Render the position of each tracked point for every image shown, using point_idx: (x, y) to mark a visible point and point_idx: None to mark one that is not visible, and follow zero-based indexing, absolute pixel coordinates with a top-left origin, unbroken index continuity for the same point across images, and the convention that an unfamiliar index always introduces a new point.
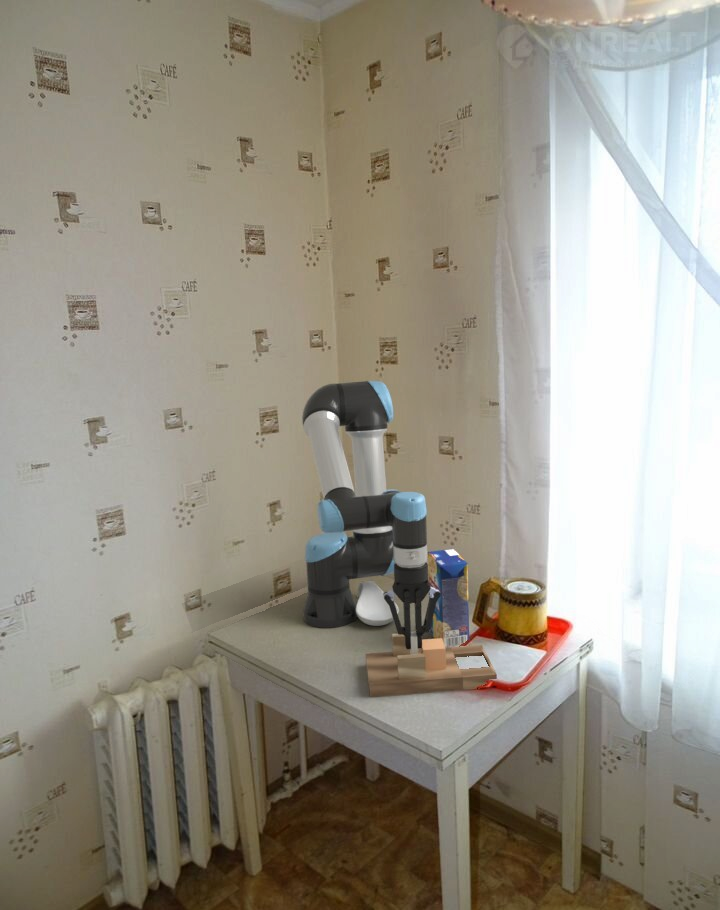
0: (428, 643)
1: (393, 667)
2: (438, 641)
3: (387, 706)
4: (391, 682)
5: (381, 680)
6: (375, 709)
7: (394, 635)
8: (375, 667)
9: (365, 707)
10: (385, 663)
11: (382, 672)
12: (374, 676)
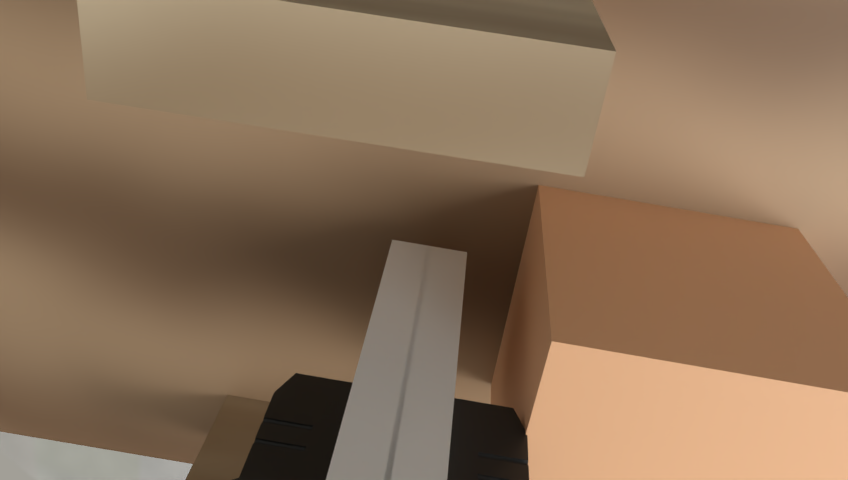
0: (627, 470)
1: (199, 244)
2: (804, 475)
3: (162, 472)
4: (161, 454)
5: (76, 407)
6: (84, 475)
7: (120, 50)
8: (7, 189)
9: (17, 441)
10: (116, 139)
11: (83, 295)
12: (10, 332)
